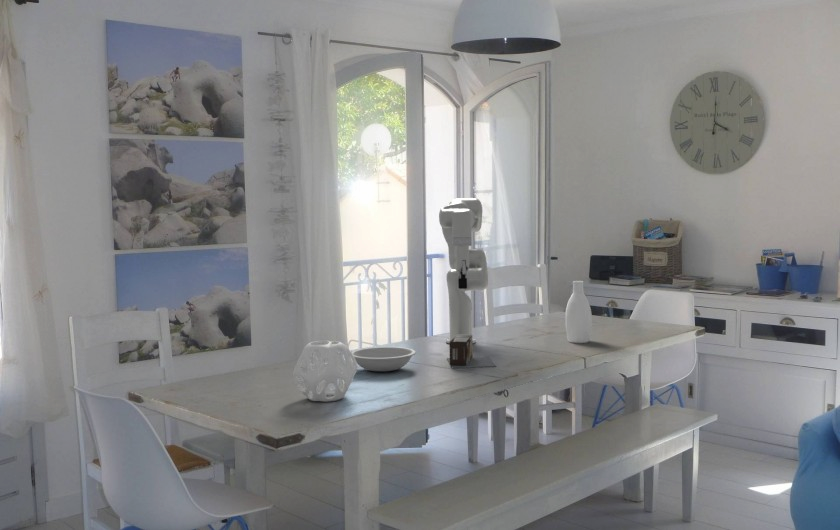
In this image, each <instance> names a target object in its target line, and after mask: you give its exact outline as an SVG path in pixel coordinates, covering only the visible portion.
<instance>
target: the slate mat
mask: <svg viewBox="0 0 840 530" xmlns="http://www.w3.org/2000/svg"><path fill="white" fill-rule="evenodd" d="M446 360H447V362H448V363H449V365H450V357H447V358H446ZM450 367H451V369H471V368H474V369H476V368H496V367H497V365H496V364H495V362H494V361H493V360H492V359H491V358H490V356H479V357H478V356H472V358H471V360H470V361H469V362H468V364H467V365H466V366H451V365H450Z"/></svg>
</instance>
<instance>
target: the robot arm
mask: <svg viewBox="0 0 840 530" xmlns="http://www.w3.org/2000/svg"><path fill="white" fill-rule="evenodd" d="M438 213H439V214H438V220H439V221H438V222H439V225H440V226H441V231H442V234H443V238H444V239H445V243H446V244H447V247H448V249H447V250H448V262H449V264H448V265H449V267H450V270H449V271H447V273H446V284H447V290H448V291H447V292H448V308H449V309H448V313H449V338H447V339H446V340H445V343H446V344H449V345H450V341H451V340H452V339H453V338H454V337H455V336H456V335H457V334H472V335H473V317H472V316H473V315H472V314H473V312H472V300H471V297H470V296H469V295H468V294H467V293H466V292H467V291H483V290H486V289H487V287H488V284H489V274H488V264H487V257H486V253H485V251H483V250H482V249H478V248H474V249H473V248H471V249H470V247H471V246H472V243H473V242H472V238H473V237H472V233H476V232H480V230H481V228H482V222H483V221H482V220H483V205H482V202H481V200H480V199H478V198H476V197H475V198H473V197H470V198H468V197H467V198H466V197H465V198H464V197H463V198H453V199H452V200H451V201H450V202H449V204H448V205H445V206H441V208H440V209H439V212H438ZM476 342H477V340H476V338H473V337H472V344H475V343H476Z"/></svg>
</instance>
